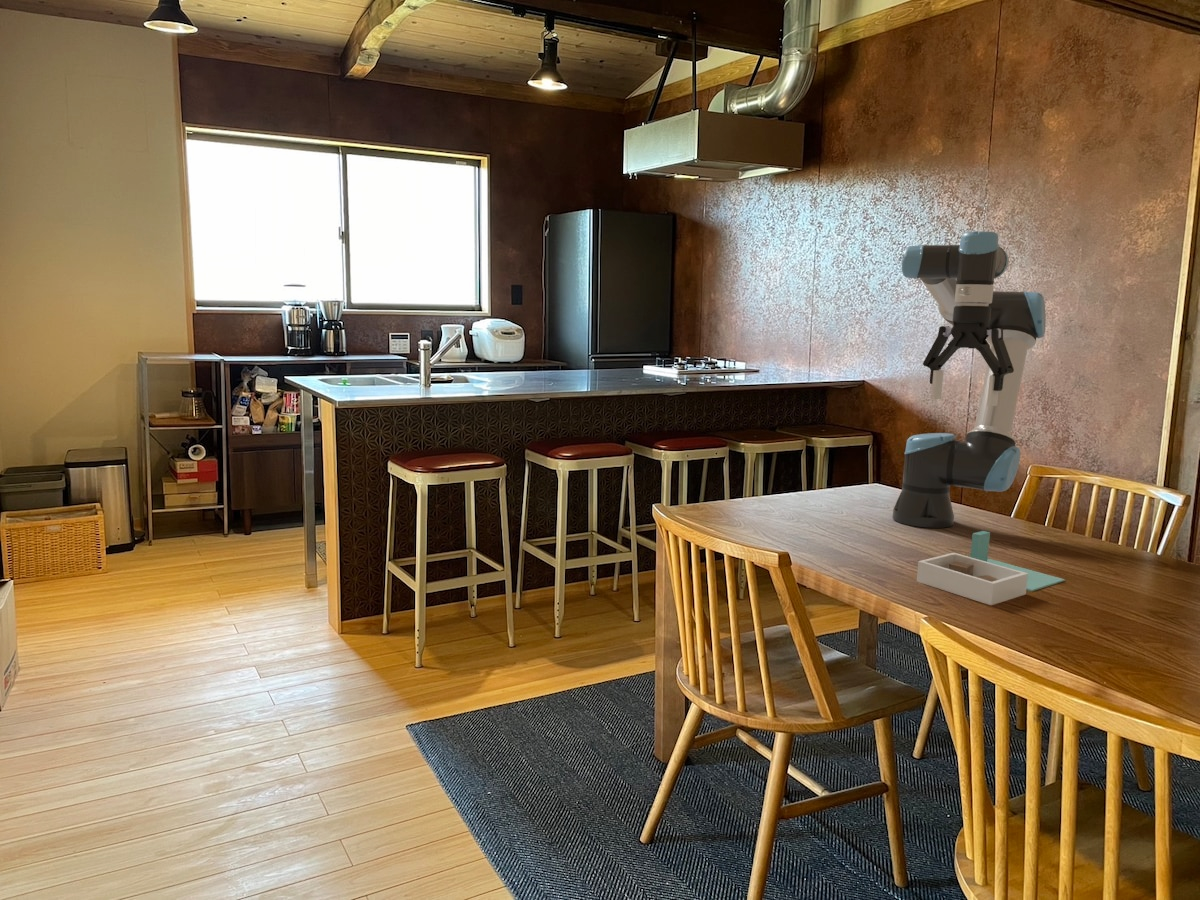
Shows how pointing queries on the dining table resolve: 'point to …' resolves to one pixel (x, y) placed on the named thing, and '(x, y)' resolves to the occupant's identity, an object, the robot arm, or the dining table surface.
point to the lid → (1034, 578)
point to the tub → (973, 579)
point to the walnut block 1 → (962, 567)
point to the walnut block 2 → (987, 578)
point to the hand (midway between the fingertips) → (963, 402)
